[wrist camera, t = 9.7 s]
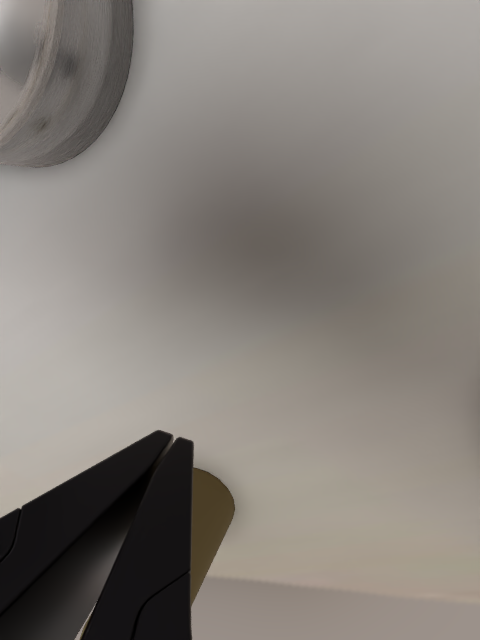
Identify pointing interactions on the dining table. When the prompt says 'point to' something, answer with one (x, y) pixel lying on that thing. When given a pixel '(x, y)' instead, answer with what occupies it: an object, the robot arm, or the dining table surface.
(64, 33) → the pot
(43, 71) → the lid
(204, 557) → the cork
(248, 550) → the dining table surface
